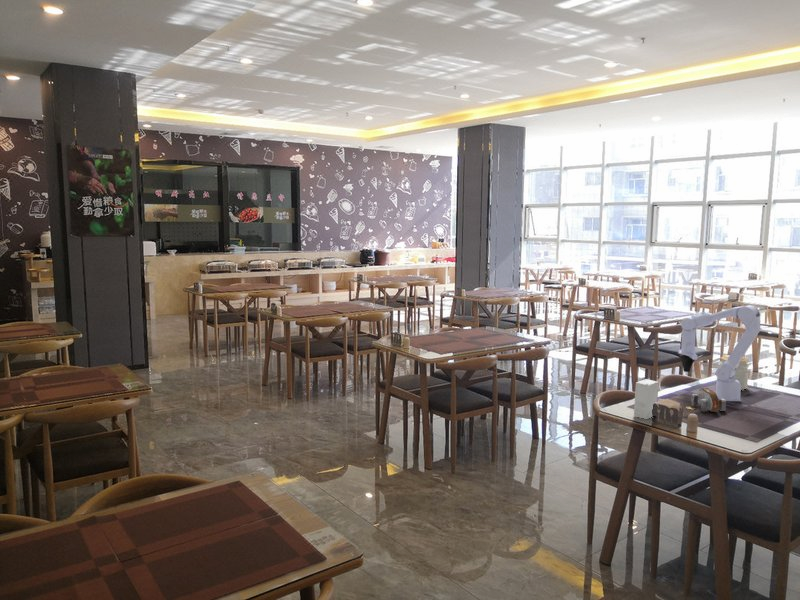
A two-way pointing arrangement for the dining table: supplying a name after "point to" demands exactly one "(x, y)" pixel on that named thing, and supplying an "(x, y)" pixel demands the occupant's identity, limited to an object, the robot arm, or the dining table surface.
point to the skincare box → (645, 398)
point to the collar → (694, 400)
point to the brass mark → (691, 408)
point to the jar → (739, 371)
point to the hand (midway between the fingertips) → (686, 371)
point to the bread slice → (709, 399)
